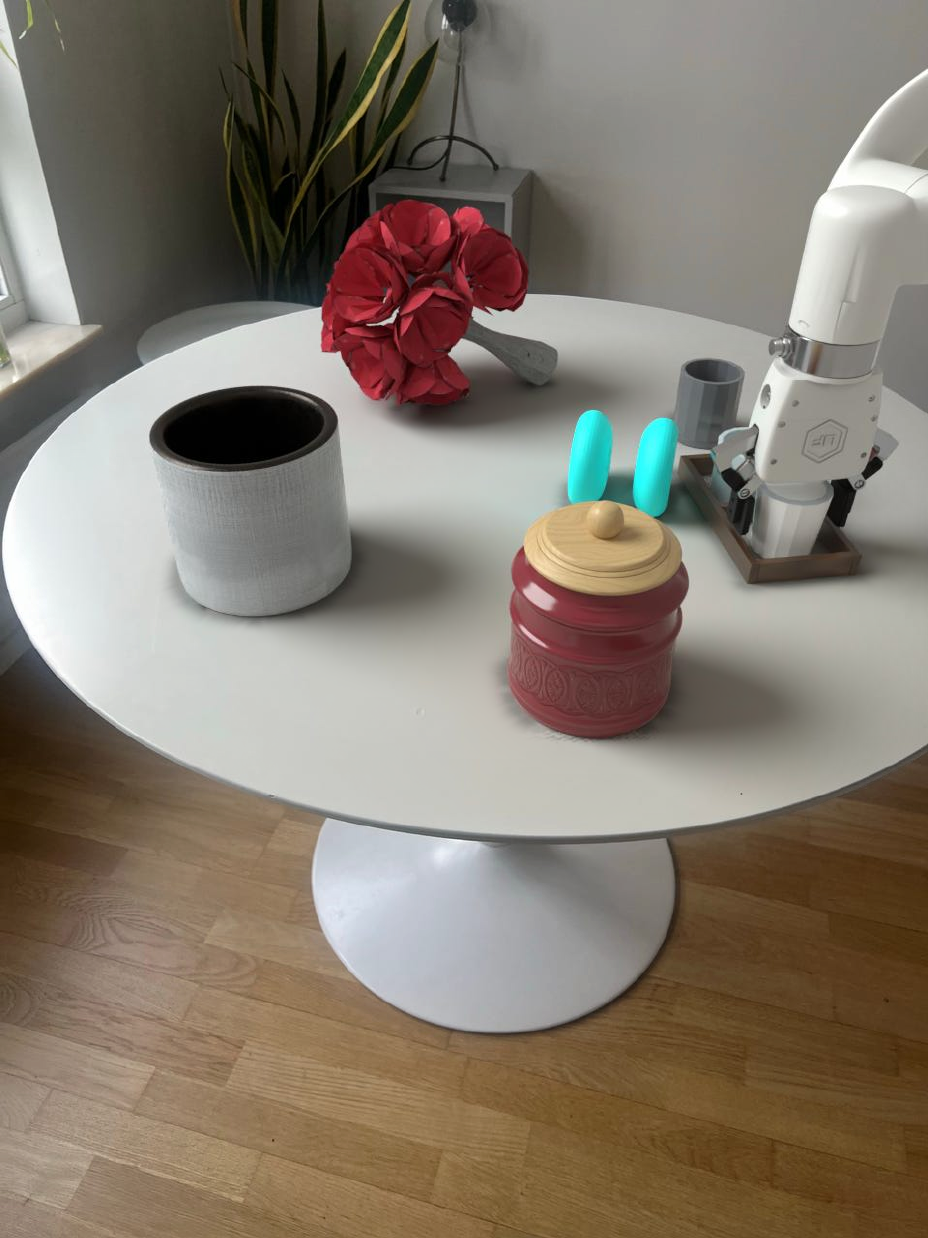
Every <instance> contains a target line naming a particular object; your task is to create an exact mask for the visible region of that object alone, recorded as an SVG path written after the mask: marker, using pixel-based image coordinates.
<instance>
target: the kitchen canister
mask: <svg viewBox="0 0 928 1238" xmlns="http://www.w3.org/2000/svg"><path fill="white" fill-rule="evenodd" d="M679 540H680V539H679V538H678V537H677V535H676V534H675V533H674V532H673V531H672V530H671V529H670V527H669V526H667V525H666V524H664V523H663V522H662V521H660V520H659V519H658V518H656V517H651V516H649V515H648V514H646V513H645V512H643V511H641V510H639V509H637V507H634V506H631V505H628V504H624V503H620V502H614V501H611V500H599V501H588V502H580V503H576V504H572V503H571V504H569V505H566V506H564V507H561V508H557V509H555V510H552V511H549V512H547V513H546V514H543V515H542V516H540V517H539V518H537V519H536V520H535V521H534V522H533V523H532V524H531V525H530V526H529V527H528V529H527V530H526V533H525V536H524V539H523V544H522V545H521V546H520V548H519V549H518V550H517V552H516V554H515V555H514V557H513V560H512V563H511V567H510V576H511V580H512V581H511V582H512V584H513V586H514V589H513V591H512V593H511V596H510V600H509V614H510V618H511V624H510V625H511V626H510V627H511V629H510V650H509V654H508V658H507V667H506V668H507V671H506V673H507V674H506V677H507V683H508V687H509V689H510V692H511V694H512V696H513V699H514V701H515V702H516V703H517V704H518V706H519V707H520V709H521V710H522V711H523V712H524V713H526V714H527V715H528V716H529V717H530V718H531V719H532V720H534V721H535V722H537V723H539V724H540V725H542V726H544V727H546V728H548V729H551V730H553V731H556V732H559V733H562V734H565V735H568V736H573V737H579V738H586V739H587V738H588V739H589V738H590V739H591V738H592V739H604V738H611V737H619V736H622V735H625V734H628V733H632V732H634V731H636V730H638V729H640V728H642V727H644V726H645V725H647V724H648V723H650V722H651V721H652V720H653V719H654V718H655V717H656V716H657V715H658V714H659V713H660V711H661V710H662V709H663V707H664V706H665V704H666V702H667V699H668V697H669V694H670V688H671V684H672V664H673V660H674V655H675V654H674V653H675V649H676V644H677V639H678V637H679V635H680V633H681V629H682V626H683V619H684V617H683V609H682V604H683V603H684V601H685V599H686V597H687V596H688V592H689V589H690V577H689V573H688V570H687V568H686V565H685V563H684V562H683V561H682V560H683V549H682V545H681V542H680V541H679Z"/></svg>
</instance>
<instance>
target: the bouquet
mask: <svg viewBox="0 0 928 1238" xmlns="http://www.w3.org/2000/svg"><path fill="white" fill-rule="evenodd" d="M484 221H485V218H484V216H483V213H482V211H481V210H480V209H479V208H476V207H472V206H464V207H461V208H460V206H458V207H457V209H456V211H455V212H454V213H453V215H452V214H451V215H448V213H447V212H446V211H445V210H444V209H443V208H441V207H440V206H438V205H435V204H433V203H428V202H422V201H418V200H413V199H405V200H404V199H403V200H398V201H397V202H396V203H395V204H394V203H389V204H386V205H385V206H383V208H382V209H380V210H377V211H375V213H374V214H371V215H370V216H369V217H367V219H365V220H364V221H363V223H362V224H361V226H358V227H357V228H356V229H355V230H354V232H353V233H352V234H351V235H350V236H349V238H348V240H347V242H346V245H345V247H344V250H343V252H342V253H341V254H340V256H339V258H338V260H337V261H335V262H333V269H334V272H333V274H332V275H331V279H330V280H329V282H328V283H325V286H326V287H327V289H326V296H324V298H323V301H322V305H321V314H320V315H321V316H320V317H321V321H322V323H323V324H322V327H321V331H320V348H321V353H327V354H336V353H338V352H339V353H340V355H341V359H342V361H343V363H344V364H345V366H346V367H347V369H348V371H349V374H350V376H351V377H352V379H353V380H354V381H355V382H356V384H357V385H358V386H359V387H358V388H359V389H360V390H361V391H362V393H363V394H364V396H366V397H368V398H369V399H371V400H372V401H376V402H379V401H381V400H383V399H385V398H386V400H385V401H388V400H389V399H390V398H391V397H393V395H394V394H395V396H396V408H397V409H398V408H399V406H400V405H402V404H407V403H410V404H413V405H417V406H418V405H427V404H428V405H434V406H443V405H448V404H449V405H450V404H452V402H459V401H460V400H461V399H462V397H464V398H466V397H468V396H469V393H470V389H469V388H470V379H468V377H467V376H466V375H465V373H464V372H463V371H462V369H461V368H460V367H459V365H458V363H457V361H456V360H454V359H453V358H452V357H451V356H450V355H449V354H450V353H451V352H452V349H453V348H455V347H456V346H457V345H458V344H459V342H460V340H461V339H462V340H466V341H469V342H470V343H473V344H476V345H478V346H479V347H481V348H483V349H484V350H485V351H488V352H489V353H490V354H492V355H493V356H494V357H495V358H496V359H497V360H499V361H500V362H501V363H503V364H504V365H505V367H507V368H508V369H510V370H511V371H512V372H514V373H515V374H516V375H518V376H519V377H521V378H522V379H524V380H525V381H527V382H529V383H531V384H533V385H535V386H537V387H538V386H543V385H544V384H546V383H547V382H548V381H549V380H550V378H551V377H552V376H553V374H554V372H555V370H556V368H557V364H558V359H559V354H558V353H559V352H558V350H557V349H556V348H554V347H553V346H551V345H549V344H547V343H545V342H543V341H541V340H537V339H536V340H535V339H531V338H526V337H521V336H517V335H512V334H508V333H507V334H506V333H503V332H500V331H496V330H493V329H491V328H488V327H486V326H484V325H483V324H480V323H479V322H477V321H476V320H474V317H475V316H473V311H474V308H476V309H478V310H479V311H482V312H484V313H487V314H489V315H491V316H493V313H492V312H491V311H490V310H489V309H491V310H494V311H497V312H499V313H501V312H503V311H510V312H512V313H514V312H516V311H517V310H518V309H519V308H521V307H522V306H523V304H524V302H525V299H526V296H527V292H528V286H529V274H530V271H529V267H528V264H527V260H526V258H525V257H524V255H523V253H522V252H521V250H520V249H519V248H517V247H515V246H514V245H513V243H512V237H510V236H509V235H508V234H507V233H505V232H504V231H503V230H500V229H497V228H494V227H491V226H490V225H488V224H487V223H486V222H484ZM449 263H450V272H449V271H448V270H444V269H445V268H446V267H447V266H448V265H449ZM443 270H444V271H443ZM409 276H410V277H412V278H413V279H416V280H414V282H412V283H411V285H410V282H409ZM468 278H469V279H468ZM467 279H468V280H467ZM384 288H385V289H387V292H385V290H384ZM488 308H489V309H488ZM395 311H396V315H395V317H394V316H393V314H394V313H395ZM397 311H398V312H397ZM393 317H394V320H393V322H387V323H385V324H380V323H383V322H384V321H385V322H386V321H387V320H390V319H391V318H393Z"/></svg>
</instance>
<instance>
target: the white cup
mask: <svg viewBox="0 0 928 1238" xmlns="http://www.w3.org/2000/svg"><path fill="white" fill-rule="evenodd" d="M830 483H831V482H829V480H825V481H812V482H799V483H784V484H771V483H767V482H764V483H763V484H762V485H761V486H760V487H759V488H757V490H756V499H755V507H754V516H753V523H751V524H752V526H751V536H750V543H749V547H751V549H752V551H753V552H754V553H755V554H757V555H758V556H759V557H761V558H762V559H767V558H779V557H791V556H803V555H811V552H812V550H813V548H814V545H815V543H816V540H817V537H818V536H817V535H818V533H819V530H820V528H821V525H822V523H823V520H824V518H825V515H826V513H827V510H828V508H829V505H830V503H831V500H832V498H833V495H834V491H833V487H832V485H831V484H830Z"/></svg>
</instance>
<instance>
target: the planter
mask: <svg viewBox="0 0 928 1238" xmlns="http://www.w3.org/2000/svg"><path fill="white" fill-rule="evenodd" d="M340 437H341V436H340V426H339V418H338V414H337V413H336V410H335V409H334V408H333V406H332V405H331V404H329V403H328V402H327V401H326V400H324V399H323V398H321V397H319V396H317V395H315V394H312V393H310V392H307V391H304V390H300V389H296V388H291V387H286V386H279V385H242V386H240V385H239V386H234V387H233V386H232V387H226V388H225V387H224V388H220V389H216V390H211V391H208V392H204V393H200V394H198V395H195V396H192V397H190V398H187V399H184V400H182V401H181V402H179V403H177V404H175V405H173V406H171V407H170V408H168V409H167V410H166V411H164V412H163V413H162V414H161V415H159V416H158V417H157V419H156V420H155V421H154V422H153V423H152V425H151V427H150V430H149V433H148V443H149V447H150V452H151V457H152V460H153V464H154V469H155V474H156V477H157V481H158V486H159V492H160V494H161V500H162V504H163V509H164V513H165V519H166V523H167V528H168V532H169V537H170V542H171V546H172V552H173V556H174V560H175V565H176V569H177V573H178V578H179V579H180V580H179V581H180V582H181V584H182V587H183V589H184V590H185V592H186V593H187V595H188V596H189V597H190V598H191V599H192V600H194V601H195V602H196V603H198V604H199V605H201V606H203V607H205V608H206V609H209V610H212V611H215V612H217V613H220V614H225V615H230V616H238V617H267V616H269V617H270V616H277V615H281V614H286V613H290V612H294V611H297V610H301V609H303V608H306V607H308V606H311V605H313V604H314V603H317V602H319V601H321V600H322V599H324V598H326V597H327V596H328V595H330V594H331V593H333V592H334V591H335V590H336V589H337V588H338V587H339V586H340V585H341V584H342V583H343V581H344V580H346V577H347V576H348V574H349V572H350V569H351V565H352V554H353V550H352V538H351V529H350V520H349V513H348V512H349V510H348V503H347V494H346V485H345V475H344V467H343V458H342V447H341V438H340Z"/></svg>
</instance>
